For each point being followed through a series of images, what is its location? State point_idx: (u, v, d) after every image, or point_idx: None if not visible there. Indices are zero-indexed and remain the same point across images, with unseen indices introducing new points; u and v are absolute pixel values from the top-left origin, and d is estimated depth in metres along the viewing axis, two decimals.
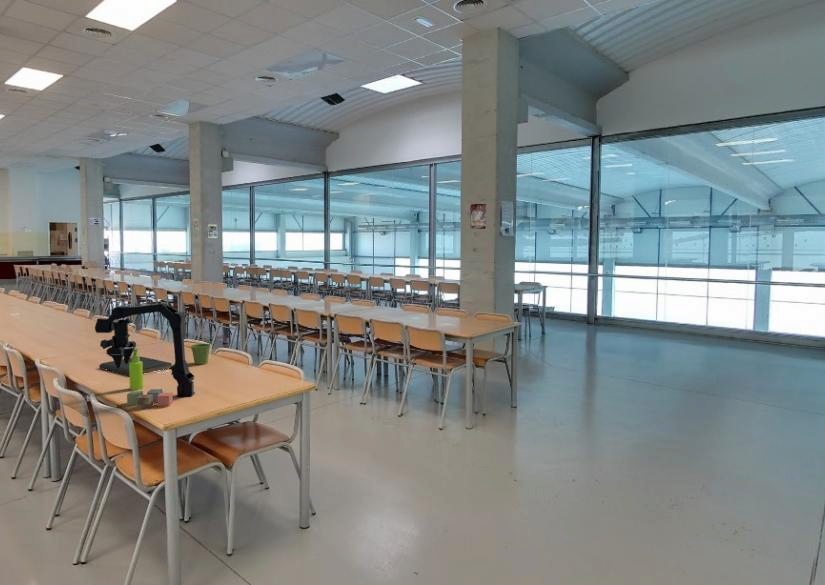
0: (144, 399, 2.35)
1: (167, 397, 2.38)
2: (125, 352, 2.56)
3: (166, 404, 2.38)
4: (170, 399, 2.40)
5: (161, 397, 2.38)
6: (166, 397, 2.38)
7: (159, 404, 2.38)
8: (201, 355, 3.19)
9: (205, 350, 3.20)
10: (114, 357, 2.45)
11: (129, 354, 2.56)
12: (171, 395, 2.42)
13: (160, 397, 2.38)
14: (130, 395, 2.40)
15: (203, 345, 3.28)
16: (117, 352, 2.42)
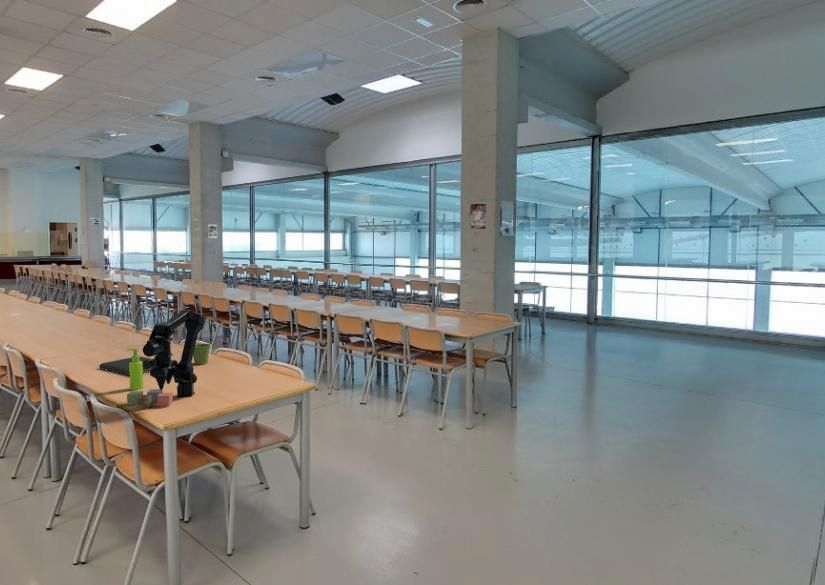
0: (144, 399, 2.35)
1: (167, 397, 2.38)
2: (167, 372, 2.44)
3: (166, 404, 2.38)
4: (170, 399, 2.40)
5: (161, 397, 2.38)
6: (166, 397, 2.38)
7: (159, 404, 2.38)
8: (201, 355, 3.19)
9: (205, 350, 3.20)
10: (157, 378, 2.33)
11: (171, 374, 2.45)
12: (171, 395, 2.42)
13: (160, 397, 2.38)
14: (130, 395, 2.40)
15: (203, 345, 3.28)
16: (161, 373, 2.30)
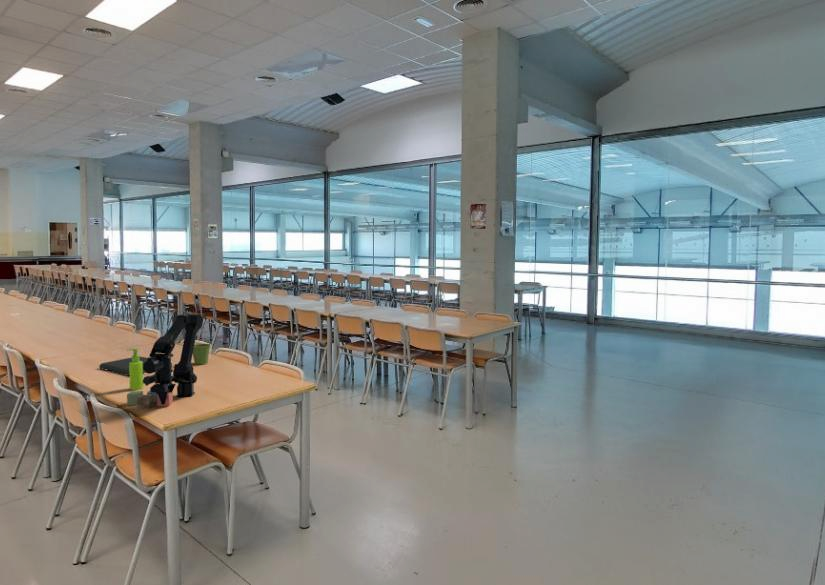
0: (144, 399, 2.35)
1: (167, 397, 2.38)
2: None
3: (166, 404, 2.38)
4: (170, 399, 2.40)
5: None
6: None
7: (159, 404, 2.38)
8: (201, 355, 3.19)
9: (205, 350, 3.20)
10: (159, 393, 2.36)
11: (170, 391, 2.43)
12: (171, 395, 2.42)
13: None
14: (130, 395, 2.40)
15: (203, 345, 3.28)
16: (161, 390, 2.31)
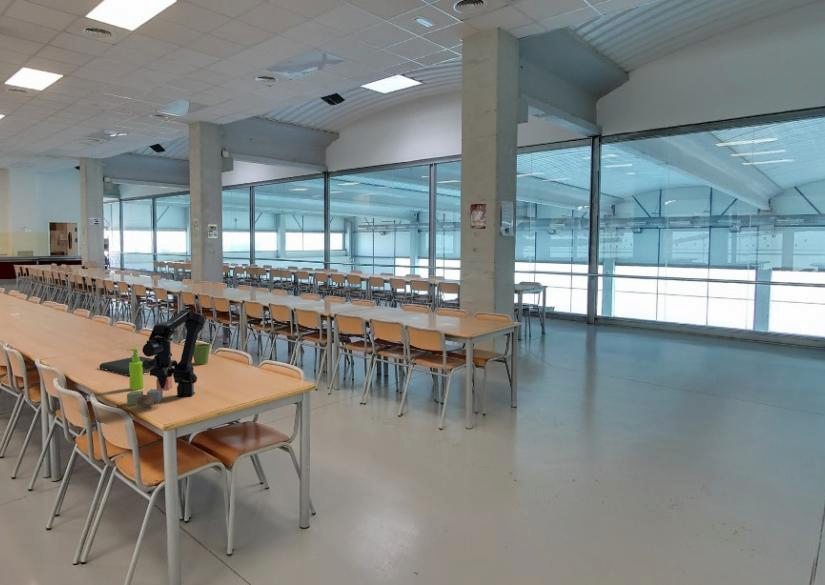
0: (144, 399, 2.35)
1: (166, 381, 2.37)
2: None
3: (165, 388, 2.38)
4: (169, 383, 2.39)
5: None
6: None
7: (158, 388, 2.37)
8: (201, 355, 3.19)
9: (205, 350, 3.20)
10: (158, 377, 2.35)
11: (169, 375, 2.43)
12: (170, 379, 2.41)
13: None
14: (130, 395, 2.40)
15: (203, 345, 3.28)
16: (161, 373, 2.30)
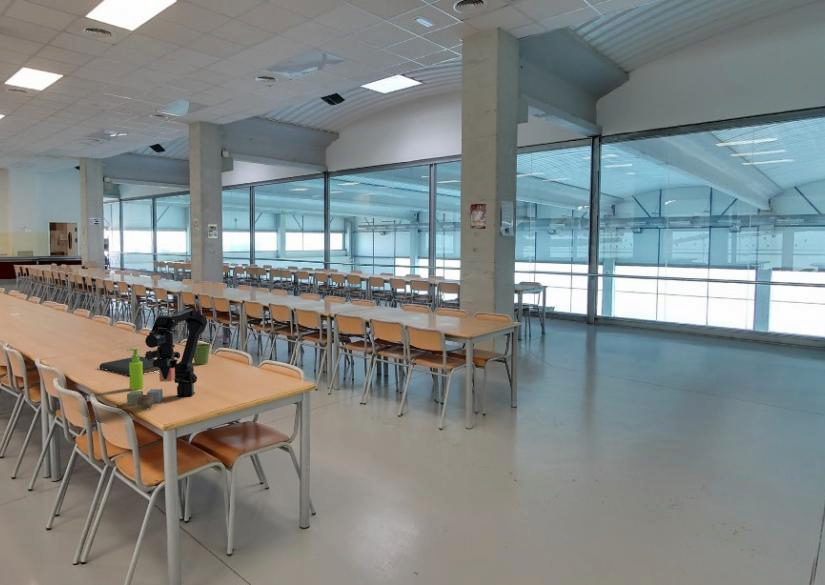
0: (144, 399, 2.35)
1: (169, 372, 2.39)
2: None
3: (168, 379, 2.40)
4: (172, 374, 2.41)
5: None
6: None
7: (161, 379, 2.39)
8: (201, 355, 3.19)
9: (205, 350, 3.20)
10: (161, 368, 2.37)
11: (172, 366, 2.44)
12: (173, 370, 2.43)
13: None
14: (130, 395, 2.40)
15: (203, 345, 3.28)
16: (164, 364, 2.32)
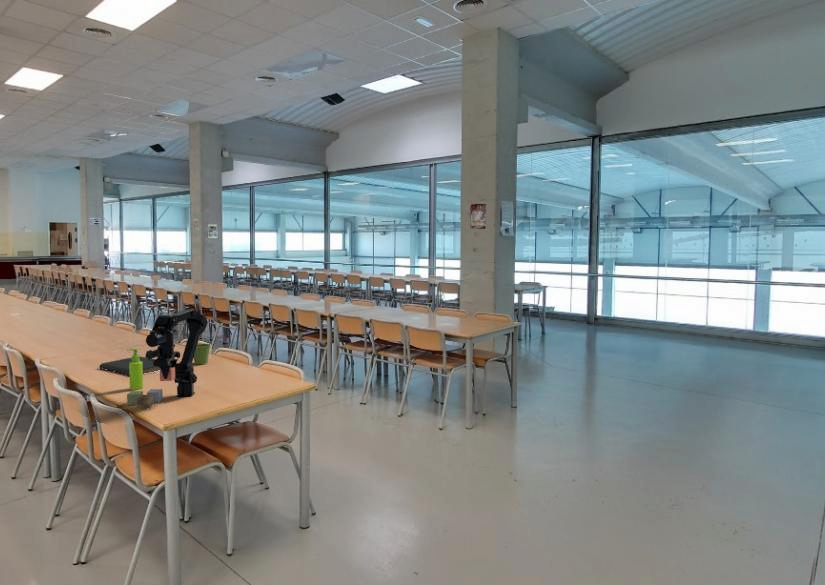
0: (144, 399, 2.35)
1: (169, 371, 2.40)
2: None
3: (168, 378, 2.40)
4: (172, 373, 2.42)
5: None
6: None
7: (161, 378, 2.39)
8: (201, 355, 3.19)
9: (205, 350, 3.20)
10: (162, 367, 2.37)
11: (172, 366, 2.45)
12: (173, 370, 2.43)
13: None
14: (130, 395, 2.40)
15: (203, 345, 3.28)
16: (164, 363, 2.32)
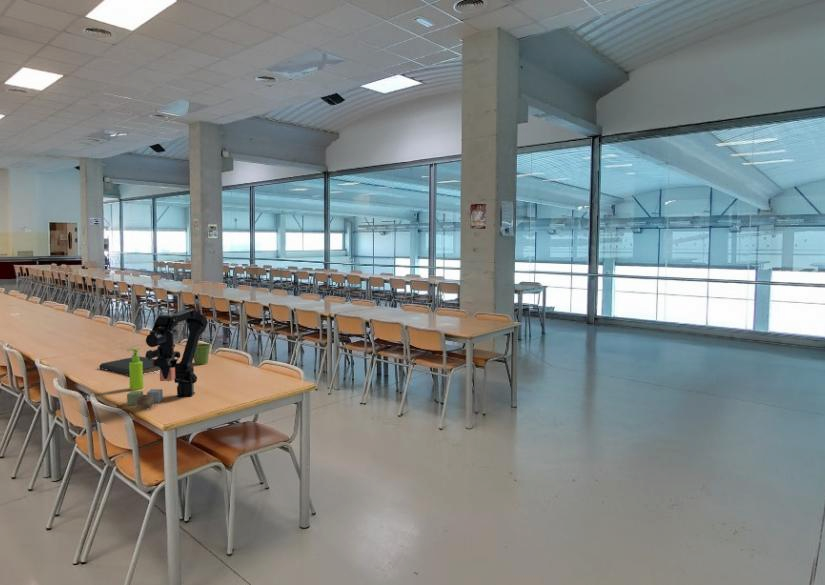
0: (144, 399, 2.35)
1: (169, 371, 2.40)
2: None
3: (168, 378, 2.40)
4: (172, 373, 2.42)
5: None
6: None
7: (161, 378, 2.39)
8: (201, 355, 3.19)
9: (205, 350, 3.20)
10: (162, 367, 2.37)
11: (172, 366, 2.45)
12: (173, 370, 2.43)
13: None
14: (130, 395, 2.40)
15: (203, 345, 3.28)
16: (164, 363, 2.32)
